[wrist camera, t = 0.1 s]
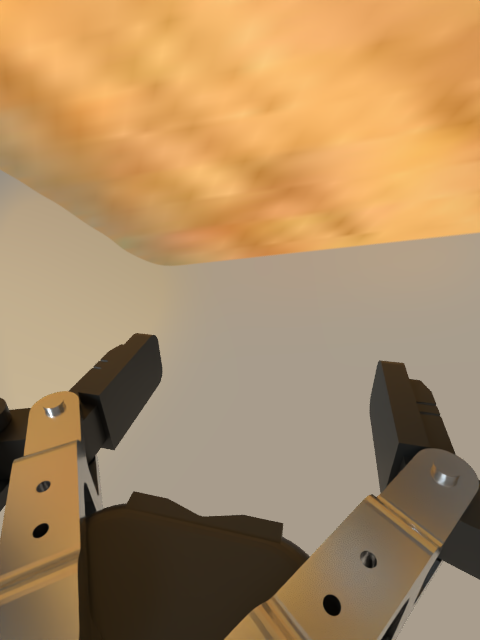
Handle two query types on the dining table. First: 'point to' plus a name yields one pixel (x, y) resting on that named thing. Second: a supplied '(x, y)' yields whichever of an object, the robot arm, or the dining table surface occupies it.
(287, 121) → the dining table surface
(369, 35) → the dining table surface
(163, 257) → the dining table surface
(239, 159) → the dining table surface
